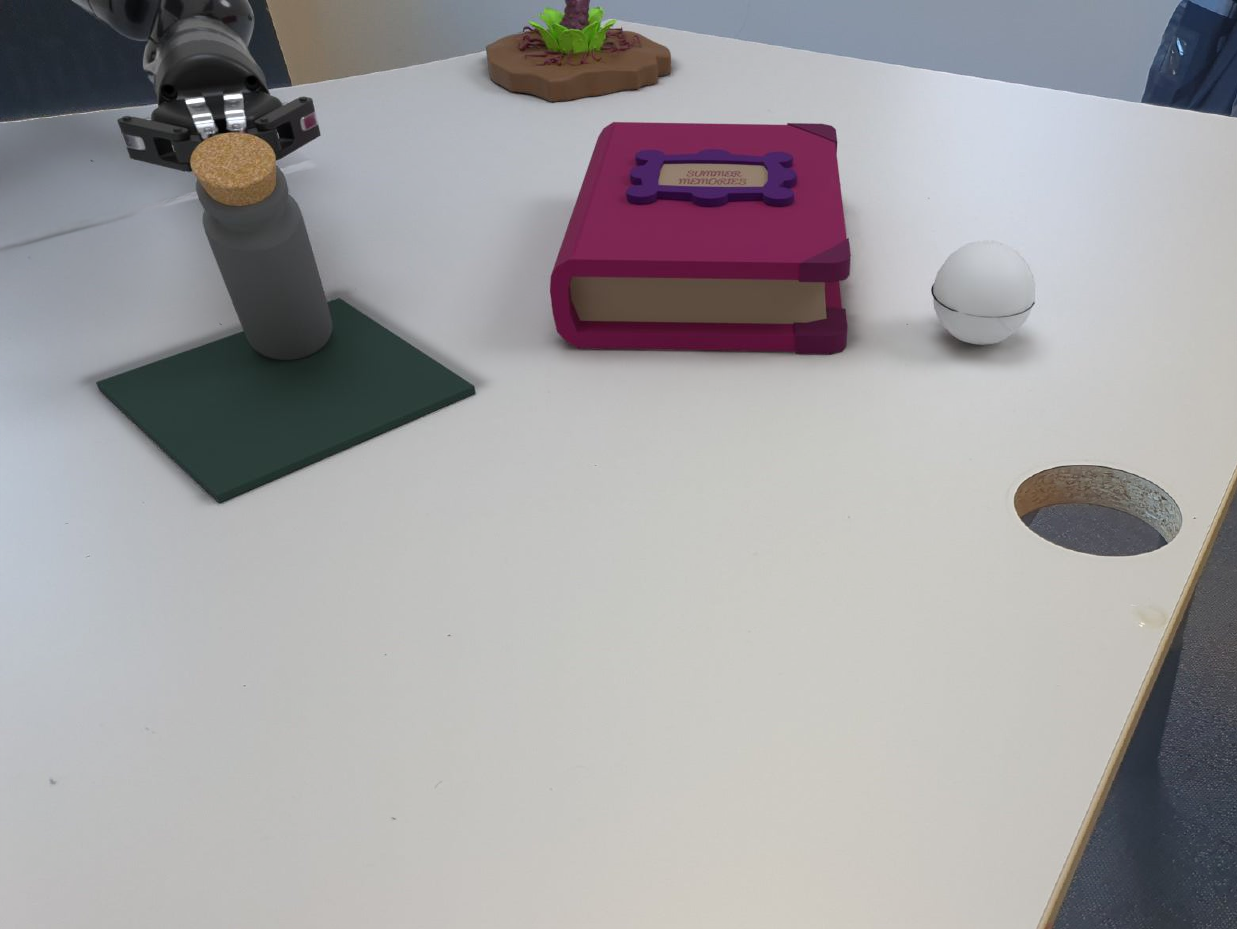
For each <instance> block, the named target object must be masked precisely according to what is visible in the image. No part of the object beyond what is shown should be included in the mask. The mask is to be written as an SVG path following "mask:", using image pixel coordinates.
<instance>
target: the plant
mask: <svg viewBox="0 0 1237 929" xmlns="http://www.w3.org/2000/svg"><path fill="white" fill-rule="evenodd" d="M590 2H591V0H564V3H565V7H564V9H563V13H561V12H560V11H558V10H556V9H553V8H550V7H548V6H546V7H545V8H544V10H543V13H544V14H542V13H538V17H539V18H540V20H541V21H543V22H544V23H545V24H546V26H547V28H548V29H545V28H544V27H543V26H542V25H541V24H539V23H538V22H536V21H531V20H528V21H527V23H528V24H529V25H531V27H532V28H531V27H530V26H528V25H526V26H523V27H522V31H519V32H517V33H513V34H509V35H506V36H504V37H501V38H499V39H497V40H496V41H494V42H492V43H490V44H488V45H485V52H486V59H487V66H488V73H489V77H490V79H491V80H492V82H494V83H496V84H497V85H499V86H502V88H505V89H506V90H508V91H510V92H512V93H520V94H528V95H529V94H530V95H533V96H536V97H538V98H541V99H543V100H545V101H548V102H550V103H555V102H563V101H564V102H565V101H573V100H577V99H581V98H582V99H583V98H588V97H598V96H605V95H609V94H614V93H616V92H621V91H629V90H632V91H633V90H639V89H640V88H641V87H646V86H653V85H656V84H658V82H659V77H660V76H661V77H663V76H668V75H670V74H671V73H672V54H671V51H670V49H669V48H668V47H667V46H665V45H663V44H660V43H658V42H656V41H654V40H651V38H648V37H646V36H644V35H642V34H641V33H638V32H636V31H631V30H623V27H622V26H621V27H620V28H618V27H617V28H612V27H614V25H615V24H616V22H617V21H618V20H617V19H612V20H609V21H608V22H607V23H605V24H604V25H603V26H602V27H601V24H602V18H604V15H605V11H604V10H603V9H602V7H601V6H597V7H593V8H591V9H590ZM525 30H528V31H525Z"/></svg>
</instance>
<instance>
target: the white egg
mask: <svg viewBox="0 0 1237 929" xmlns="http://www.w3.org/2000/svg"><path fill="white" fill-rule="evenodd" d="M930 291H931V295H932V297H933V309H934V312H935V314H936V317H937V318H938V321H939V322H940V324H941V325H942V327H943V328H944V329H945V330H946V331H947V332H948V333H949V334H950V335H951V336H953V337H955V338H956V339H957V340H959V341H962V342H963V343H966V344H967V343H968V344H972V345H983V346H985V345H995V344H997V343H1000V342H1003V341H1004V340H1006V339H1007V338H1009V337H1011V336H1012V335H1014V334H1016V333H1017V332H1018V331H1019V330H1020V329H1021V328H1022V326H1023V325H1024V324H1025V323H1026V321H1027V320H1028V318H1029V316H1030V315H1031V312H1032V309H1033V306H1034V305H1035V303H1036V282H1035V277H1034V274H1033V271H1032V269H1031V266H1030V263H1028V262H1027V260H1026V259H1025V258H1024V257H1023V256H1022V255H1021V254H1020V253H1019V251H1018V250H1017V249H1015V248H1014V247H1012V246H1010V245H1008V244H1005V243H1002V242H1000V241H995V240H979V241H973V242H968V243H966V244H963V245H962V246H961V247H959V248H958V249H957V250H954V251H953V252H952V253H950V254H949V255H948V256H947V258H946V259H945V260H944V262H943V264H942V265H941V266H940V268H939V270H938V271H937V272H936V276H935V279H934V281H933V284H932V285H931V288H930Z"/></svg>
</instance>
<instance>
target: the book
mask: <svg viewBox="0 0 1237 929" xmlns="http://www.w3.org/2000/svg"><path fill="white" fill-rule="evenodd" d="M838 162H839V161H838V135H837V129H836V128H835V127H834V125H833V126H832V125H830V124H825V123H808V122H807V123H803V122H800V123H799V122H787V123H786V124H763V123H762V124H758V123H748V124H747V123H704V122H703V123H702V122H701V123H698V122H697V123H695V122H643V121H642V122H639V121H638V122H636V121H635V122H634V121H633V122H632V121H612V122H611V123H609V124H608V125H606V126H605V127H603V128H602V130H601V132H600V133H599V135H598V137H597V139H596V142H595V145H594V148H593V151H592V154H591V156H590V160H589V163H588V165H587V169H586V172H585V174H584V177H583V181H582V183H581V186H580V189H579V192H578V195H577V197H576V200H575V204H574V206H573V209H572V212H571V216H570V218H569V222H568V225H567V227H566V229H565V233H564V235H563V239H562V241H561V245H560V248H559V251H558V254H557V256H556V260H555V263H554V266H553V268H552V271H551V274H550V282H549V295H550V302H551V311H552V317H553V320H554V324H555V329H556V332H557V334H558V335H559V336H560V337H561V338H562V339H563V340H564V341H565V343H568V344H570V345H572V346H573V347H575V348H577V349H593V350H594V349H595V350H597V349H601V350H602V349H604V350H605V349H606V350H607V349H608V350H661V351H663V350H665V351H667V350H668V351H669V350H673V351H731V352H732V351H735V352H736V351H737V352H738V351H739V352H741V351H742V352H753V351H754V352H795V355H834V354H838V353H841V352H843V351H844V350H845V349H846V348H847V346H848V345H847V344H848V341H847V340H848V329H849V328H848V319H847V318H848V317H847V309H846V308H844V307H843V302H842V294H841V293H842V291H841V284H840V283H841V281H846V280H847V279H848V278H849V277H850V275H851V260H852V254H851V247H850V246H851V245H850V238H849V237H848V236H847V228H846V221H845V213H844V211H845V210H844V204H843V194H842V186H841V180H840V179H841V178H840V171H839V163H838Z"/></svg>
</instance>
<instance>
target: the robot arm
mask: <svg viewBox="0 0 1237 929" xmlns="http://www.w3.org/2000/svg"><path fill="white" fill-rule="evenodd" d="M71 1H72V2H73V3H74V4H76V5H77V6H79V7H80V8H82V9H83V10H84V11H85V12H87V13H88V14H90V15H91V16H93V17H94V18H95V19H97V20H98V21H99V22H101V23H103V24H104V25H105V26H107V27H108V28H109V29H111V30H112V31H114V32H116V33H117V34H119V35H120V36H123V37H124V38H127V39H129V40H133V41H137V42H146V44H145V48H144V52H143V56H142V57H143V58H142V69H143V72H144V74H145V76H146V78H147V79H148V80H149V81H150V82H151V84H152V85H153V91H154V92H155V94H156V98H157V99H156V100H157V107H156V108H155V109H153V111H152V112H151V114H150V117H149V116H148V117H144V118H142V117H137V116H131V115H124V116H122V117H119V118H118V119H117V120H116V122H117V124H118V128H119V130H120V134H121V136H122V139H123V143H124V146H125V147H126V150H127V153H128V157H129V159H131V160H134V161H139V162H143V163H146V164H147V163H148V164H151V165H155V166H160V167H164V168H168V169H172V170H176V171H181V172H187V173H191V172H192V173H193V171H192V168H191V163H190V160H191V156H192V153H193V151H194V150H195V148H196V147H197V146H198V145H199V144H200V143H202V142H203V141H204V140H206V139H208V138H211V137H213V136H216V135H219V134H223V133H246V134H250V135H253V136H256V137H258V138H260V139H262V140H264V141H265V142H266V143H268V144H269V145H270V147H271V148H272V149H273V151H274V153H275V156H276V162H277V161H279V160H282V159H283V158H285V157H287V156H288V155H290V154H292V153H294V152H295V151H297V150H298V149H300V148H302V147H304V146H305V145H307V144H309V143H311V142H312V141H314V140H316V139H317V138H319V137H321V135H322V133H321V130H320V125H319V122H318V117H317V112H316V109H315V104H314V100H313V98H312V97H308V96H299V97H297V98H295V99H293V100H291V101H289V102H287V101H286V102H282V100H280V99H279V98H278V97H276V96H274V95H271V93H270V90H269V87H268V85H267V80H266V76H265V74H264V72H263V70H262V68H261V67H260V66H259V65H258V63H257V62H256V60H255V59H254V57H253V56H252V54H251V52H250V50H249V45H250V42H251V39H252V36H253V32H254V29H255V14H254V11H253V9H252V6H251V4H250V2H249V0H71Z"/></svg>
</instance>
